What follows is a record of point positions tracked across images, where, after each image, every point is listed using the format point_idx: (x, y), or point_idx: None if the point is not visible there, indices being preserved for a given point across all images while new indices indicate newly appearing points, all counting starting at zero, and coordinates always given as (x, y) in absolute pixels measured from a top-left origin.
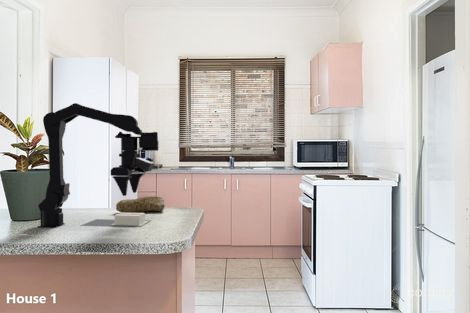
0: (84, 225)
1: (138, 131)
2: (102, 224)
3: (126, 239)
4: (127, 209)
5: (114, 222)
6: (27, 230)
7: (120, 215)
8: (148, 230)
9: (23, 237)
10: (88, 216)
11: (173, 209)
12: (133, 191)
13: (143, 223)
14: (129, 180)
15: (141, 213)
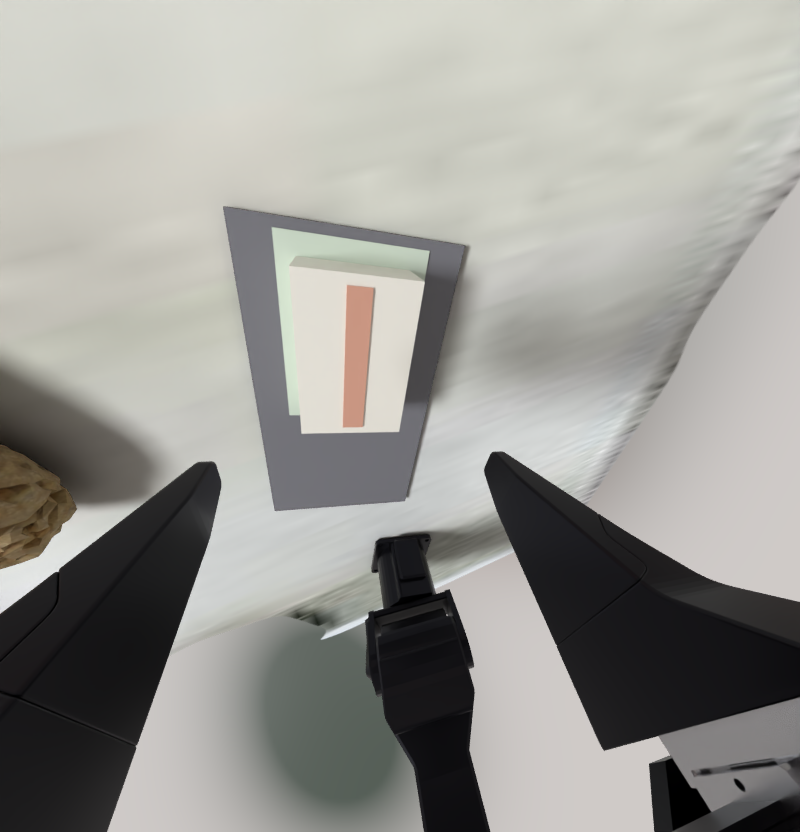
0: (404, 490)
1: None
2: (386, 448)
3: (684, 250)
4: (37, 475)
5: None
6: (443, 562)
7: (403, 403)
8: (533, 164)
9: None
10: None
11: None
12: (216, 492)
13: (361, 250)
14: (150, 704)
15: (318, 291)
